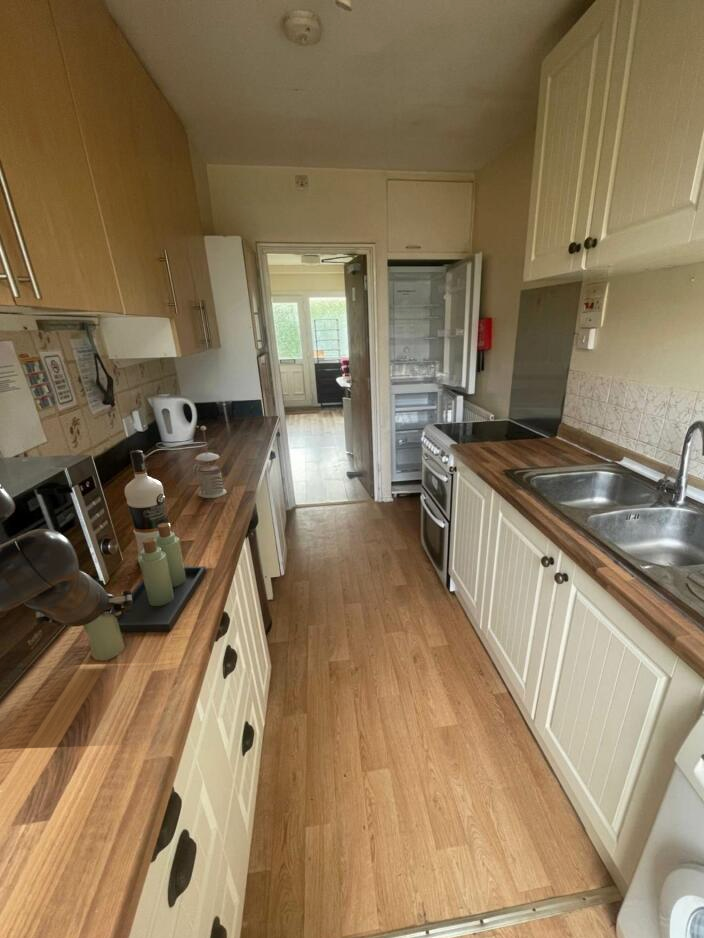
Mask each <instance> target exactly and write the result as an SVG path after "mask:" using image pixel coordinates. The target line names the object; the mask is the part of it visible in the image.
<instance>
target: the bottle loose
mask: <svg viewBox="0 0 704 938" xmlns="http://www.w3.org/2000/svg"><path fill="white" fill-rule="evenodd" d="M82 627H83V631H84V633H85V636H86V640H87V643H88V646H89V649H90V652H91V656H92V658H93V659H94V660H96V661H107V660H110V659H113V658H116V657H117V656H119V655H120V654H121V653H122V652H123V651H124V650H125V642H124V638H123V635H122V634H123V633H121V631H120V627H119V623H118V619H117V618H116V617H115V616H113V615H112V616H109V617H98V618H97V619H95V620H94V621H92V622H91V623H89V624H86V625H83V626H82Z"/></svg>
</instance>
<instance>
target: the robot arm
mask: <svg viewBox="0 0 704 938" xmlns="http://www.w3.org/2000/svg"><path fill="white" fill-rule="evenodd" d="M15 511H16V503H15V502H14V499H13V498H12V497H11V495H10V494H9V492H8V491H6V489H5V488H4V487H3V486H2V485H1V483H0V524H1V523H3V522H4V521H6V520H7V519H8V518H10V517H11V515H13V514H14V512H15ZM21 604H23V605H25V606H27V608H30V609H33V610H34V611H36V612H35V619H36V624H40V625H45V626H46V625H47V626H53V627H61V626H67V627H83V625H86V624H89V623H91V622H92V621H94V620H95V619H97V618H98V617H109V616H112V615H113V616H115V617H116V618H122V615H125V613H129V612H131V611H132V590H125V591H123V592H122V593H120V596H114V594H110V593H107V592H106V590H105V588H104V587H103V586H102V585H101V584H100V583H99V582H98V581H96V580H95V579H94V578H93V577H92V576H90V575H89V574H87V573H86V572H85V571H82V570H80V564H79V559H78V555H77V552H76V550H75V548H74V546H73V544H72V543H71V541H70V540H69V538H67V537H66V536H65V535H63V534H62V533H61V532H59V531H57V530H54V529H50V528H49V529H48V528H37V529H33V530H30V531H27V532H26V533H23V534H20V535H19V536H17V537H14V538H11V540H9V541H6V542H4V543H2V544H0V612H5V611H6V612H7V611H10V610H12V609H15V608H16V607H18V606H20V605H21Z"/></svg>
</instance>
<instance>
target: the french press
mask: <svg viewBox="0 0 704 938" xmlns="http://www.w3.org/2000/svg"><path fill="white" fill-rule="evenodd" d="M199 430H200V431H202V432H203V433H205V431H206V430H207V427H206V426H205V425H202V426H200V429H199ZM205 435H206V434H203V438H204V440H206V436H205ZM204 444H205V447H207V443H206V441H204ZM205 451H206V452H203V453H200V454H198V455H197V456H196V457H195V460H196V461H197V462H201V464H198V463H196V464H195V465H194V466H193V469H192V477H193V480H194V481H195V482H196V483H197V484H199V489H200V491H199V493H198V496H199V497H201V498H204V499H205V498H206V499H212V498H219V497H222V496H224V495H226V494H227V490H226V489H225V488H224V484H223V476H222V475H223V474H222V470H221V469H220V466H219V465H216V464H214V465H213V464H212V465H210V463H209V462H212V461H213V462H214V461H217V460H218V459H220V456H219V454H218V453H213V452H208V449H207V448H205ZM202 462H203V463H205V462H207V465H203V464H202ZM196 466H197V469H196V473H195V468H196ZM195 475H196V478H195ZM196 480H197V481H196Z"/></svg>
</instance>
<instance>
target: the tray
mask: <svg viewBox="0 0 704 938" xmlns="http://www.w3.org/2000/svg"><path fill="white" fill-rule="evenodd" d="M206 568H207V567H206V566H203V565H202V566H184V569H185V575H186V581H185V582H184V583H183V584H181V585H178V586H175V587H172V588H173V593H174V599H173V600H172V601H171V602H169V603H167V604H165V605H161V606H152V605H150V604H149V602H148V598H147V593H146V589H145V585H144V580H143V579H141V580H140V582H139V583H138V584H137V585H136V586H135V588H134V589H133V590H131V592H132V611H131V612H129V613H125V615H122V618H117V619H118V623H119V627H120V631H121V634H123V633H169V632H171V631H172V630H173V628H174V626H175V625H176V623H177V621H178V620H179V618H180V617H181V615H182V614H183V611H185V608H186V607H187V605H188V604H189V602H190V601H191V598H192V597H193V595H194V594H195V592H196V591H197V589H198V588H199V586H200V584H201V583H202V580H203V579H204V577H205V576H206V574H207V569H206Z"/></svg>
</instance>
